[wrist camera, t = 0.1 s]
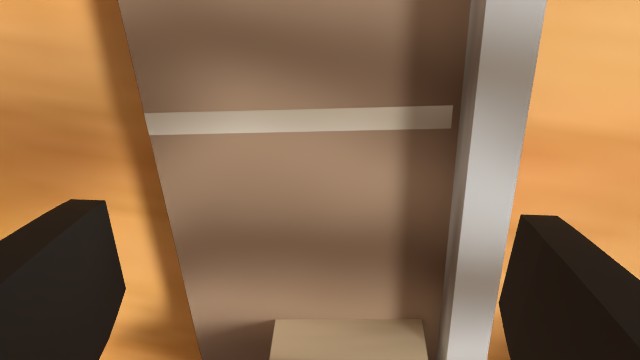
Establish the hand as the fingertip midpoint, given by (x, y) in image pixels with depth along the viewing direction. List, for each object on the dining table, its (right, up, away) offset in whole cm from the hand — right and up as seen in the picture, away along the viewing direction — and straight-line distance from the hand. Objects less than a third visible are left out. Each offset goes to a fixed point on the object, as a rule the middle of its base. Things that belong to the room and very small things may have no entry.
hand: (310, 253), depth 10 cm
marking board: (+1, -1, +12) cm, 12 cm away
